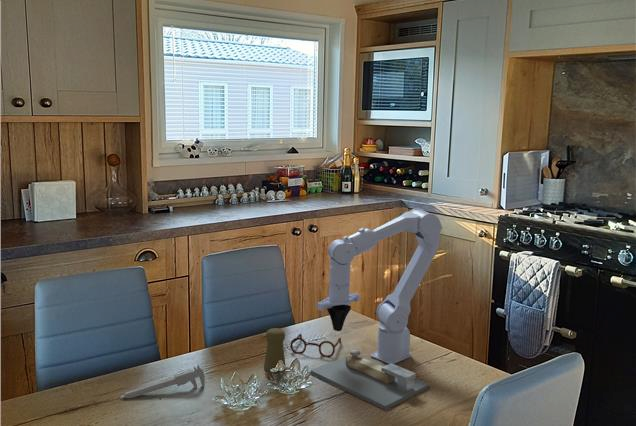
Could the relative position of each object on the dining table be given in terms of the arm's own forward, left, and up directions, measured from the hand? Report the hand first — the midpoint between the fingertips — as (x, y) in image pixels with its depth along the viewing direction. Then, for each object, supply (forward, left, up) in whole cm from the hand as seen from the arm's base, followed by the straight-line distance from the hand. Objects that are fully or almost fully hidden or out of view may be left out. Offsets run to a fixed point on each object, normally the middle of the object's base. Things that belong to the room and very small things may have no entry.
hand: (337, 330), depth 171 cm
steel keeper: (0, +22, -8) cm, 24 cm away
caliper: (+46, -15, -10) cm, 50 cm away
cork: (+16, -8, -10) cm, 20 cm away
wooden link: (0, +12, -8) cm, 15 cm away
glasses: (-3, -11, -10) cm, 15 cm away
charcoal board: (+2, +14, -9) cm, 17 cm away
